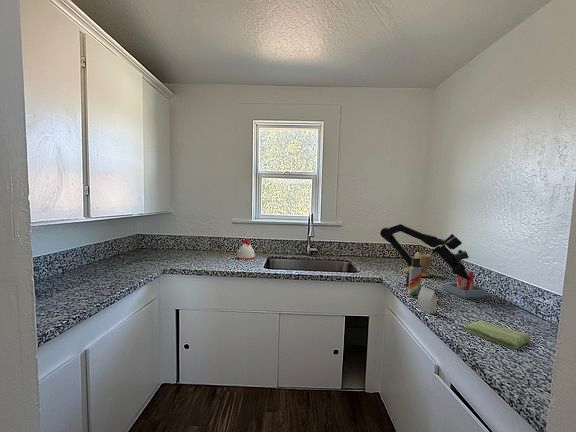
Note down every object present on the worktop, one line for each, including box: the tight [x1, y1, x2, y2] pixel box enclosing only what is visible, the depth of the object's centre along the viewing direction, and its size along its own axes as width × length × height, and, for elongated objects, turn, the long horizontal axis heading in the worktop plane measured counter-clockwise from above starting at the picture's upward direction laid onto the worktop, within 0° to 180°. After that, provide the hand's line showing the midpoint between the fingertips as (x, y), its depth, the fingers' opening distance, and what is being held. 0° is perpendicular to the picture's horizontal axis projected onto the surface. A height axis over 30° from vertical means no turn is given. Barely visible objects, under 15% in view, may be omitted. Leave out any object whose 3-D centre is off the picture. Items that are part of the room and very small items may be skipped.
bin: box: [443, 282, 488, 300], centre depth 157 cm, size 14×14×4 cm
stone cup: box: [403, 251, 432, 278], centre depth 193 cm, size 15×12×15 cm
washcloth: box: [463, 320, 531, 350], centre depth 109 cm, size 13×18×3 cm
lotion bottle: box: [407, 257, 422, 299], centre depth 150 cm, size 6×6×20 cm
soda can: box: [456, 268, 474, 291], centre depth 156 cm, size 7×7×12 cm
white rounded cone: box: [236, 238, 256, 261], centre depth 230 cm, size 14×14×15 cm
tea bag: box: [417, 286, 438, 315], centre depth 132 cm, size 4×7×10 cm, turn 24°
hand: (468, 277), depth 156 cm, fingers open, 7 cm apart
